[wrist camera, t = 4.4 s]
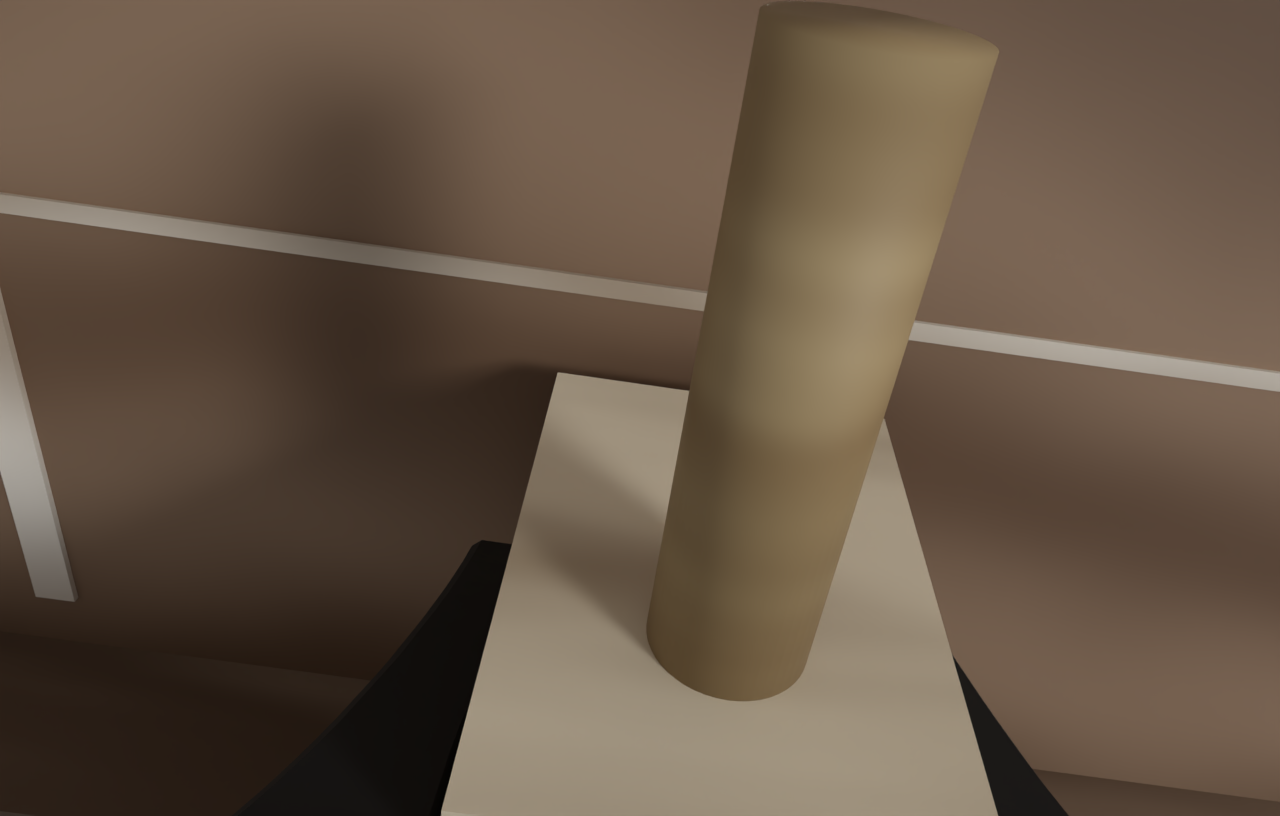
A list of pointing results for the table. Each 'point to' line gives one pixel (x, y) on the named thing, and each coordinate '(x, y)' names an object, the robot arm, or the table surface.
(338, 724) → the robot arm
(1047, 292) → the board
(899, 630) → the beige block with rod
